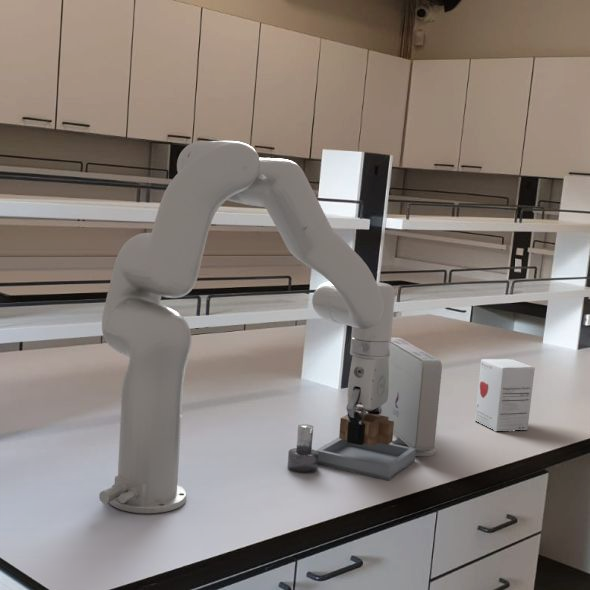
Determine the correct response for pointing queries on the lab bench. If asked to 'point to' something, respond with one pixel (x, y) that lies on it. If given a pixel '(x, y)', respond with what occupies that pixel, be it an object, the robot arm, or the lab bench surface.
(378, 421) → the collar
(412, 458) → the tray
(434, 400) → the network device
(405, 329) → the lab bench surface
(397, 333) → the lab bench surface
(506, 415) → the supplement box
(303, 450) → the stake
